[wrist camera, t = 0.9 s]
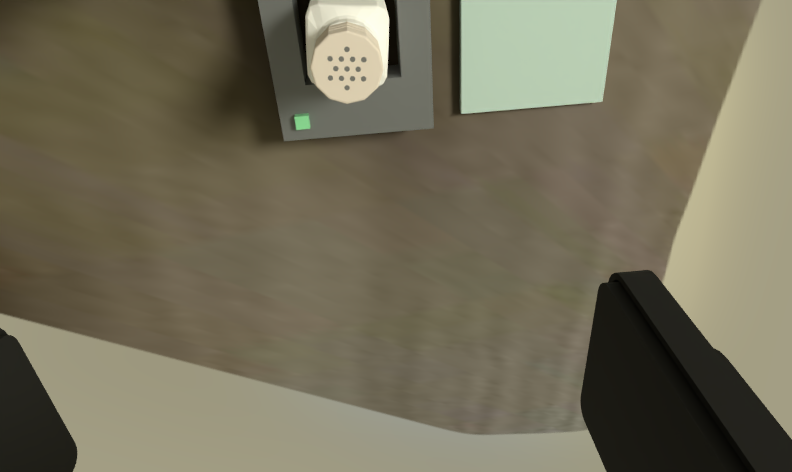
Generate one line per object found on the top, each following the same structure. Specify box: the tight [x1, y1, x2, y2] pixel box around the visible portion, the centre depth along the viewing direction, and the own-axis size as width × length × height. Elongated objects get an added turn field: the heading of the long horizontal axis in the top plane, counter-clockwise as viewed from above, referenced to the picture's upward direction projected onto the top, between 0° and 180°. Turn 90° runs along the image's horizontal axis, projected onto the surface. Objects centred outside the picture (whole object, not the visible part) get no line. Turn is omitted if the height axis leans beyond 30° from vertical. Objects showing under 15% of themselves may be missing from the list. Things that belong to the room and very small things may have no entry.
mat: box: [460, 0, 617, 114], centre depth 32 cm, size 12×9×1 cm
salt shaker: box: [305, 0, 389, 104], centre depth 28 cm, size 4×4×10 cm
